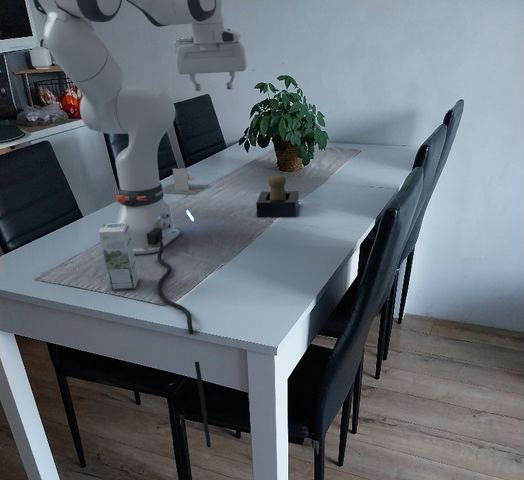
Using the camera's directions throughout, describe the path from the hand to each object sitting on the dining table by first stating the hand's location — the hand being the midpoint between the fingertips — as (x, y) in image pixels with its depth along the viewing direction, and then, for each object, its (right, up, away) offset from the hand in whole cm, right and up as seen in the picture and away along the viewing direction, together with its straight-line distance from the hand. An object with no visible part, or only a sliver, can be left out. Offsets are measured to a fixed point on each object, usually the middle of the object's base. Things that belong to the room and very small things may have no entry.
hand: (214, 90), depth 159 cm
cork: (+19, -33, +12) cm, 40 cm away
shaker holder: (+19, -33, +12) cm, 40 cm away
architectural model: (-15, -18, +40) cm, 46 cm away
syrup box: (-18, -61, -30) cm, 71 cm away
